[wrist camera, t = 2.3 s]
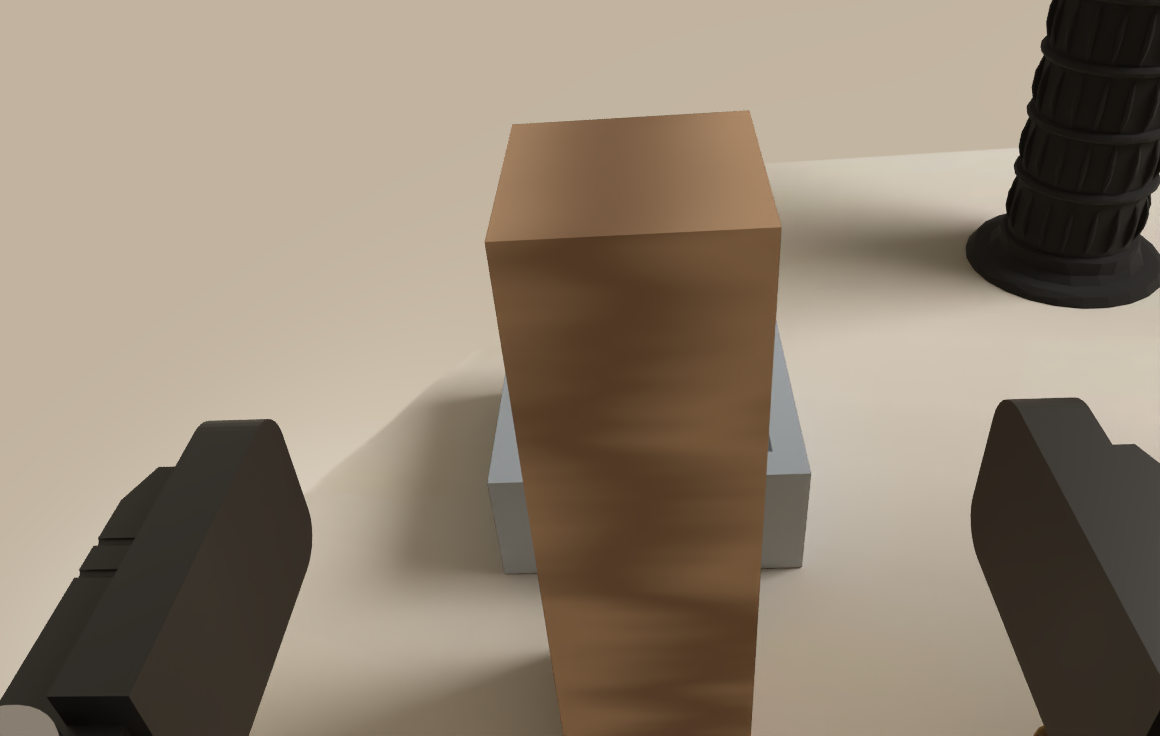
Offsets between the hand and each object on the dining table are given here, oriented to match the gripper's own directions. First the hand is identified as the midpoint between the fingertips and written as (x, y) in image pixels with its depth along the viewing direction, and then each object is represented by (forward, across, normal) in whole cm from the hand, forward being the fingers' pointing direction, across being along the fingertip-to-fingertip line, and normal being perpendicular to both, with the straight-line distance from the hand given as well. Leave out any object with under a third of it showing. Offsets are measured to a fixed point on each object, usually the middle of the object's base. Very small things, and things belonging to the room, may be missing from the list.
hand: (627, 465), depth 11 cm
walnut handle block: (+10, 0, +21) cm, 24 cm away
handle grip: (+38, -24, +21) cm, 49 cm away
